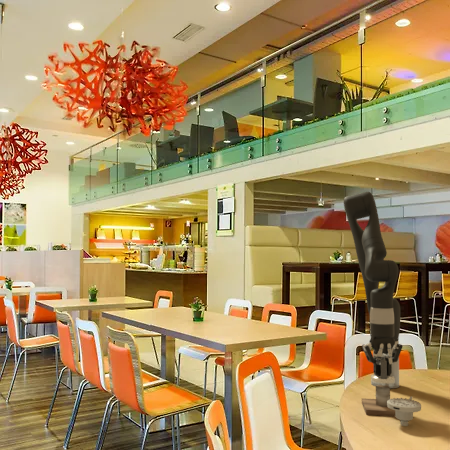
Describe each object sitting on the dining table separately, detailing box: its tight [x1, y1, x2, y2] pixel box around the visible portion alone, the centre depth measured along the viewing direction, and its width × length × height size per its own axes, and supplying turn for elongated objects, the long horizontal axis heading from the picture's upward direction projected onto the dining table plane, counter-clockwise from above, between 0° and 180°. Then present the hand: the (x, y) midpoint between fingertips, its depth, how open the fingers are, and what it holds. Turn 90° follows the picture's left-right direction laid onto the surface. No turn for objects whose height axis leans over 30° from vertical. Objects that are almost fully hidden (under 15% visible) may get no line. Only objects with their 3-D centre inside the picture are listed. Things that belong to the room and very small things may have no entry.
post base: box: [361, 386, 396, 417], centre depth 162 cm, size 13×12×8 cm
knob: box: [370, 357, 395, 389], centre depth 163 cm, size 7×8×8 cm
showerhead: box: [387, 396, 422, 427], centre depth 147 cm, size 9×7×10 cm
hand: (382, 375), depth 163 cm, fingers closed on knob, 3 cm apart
